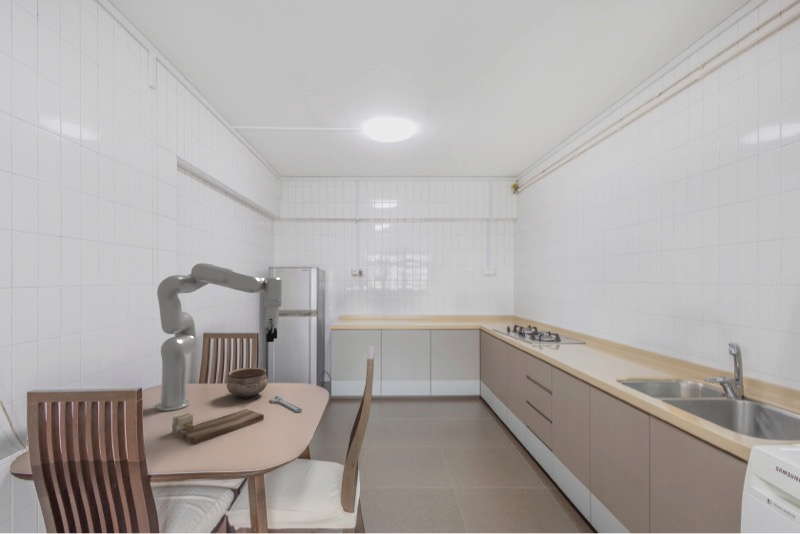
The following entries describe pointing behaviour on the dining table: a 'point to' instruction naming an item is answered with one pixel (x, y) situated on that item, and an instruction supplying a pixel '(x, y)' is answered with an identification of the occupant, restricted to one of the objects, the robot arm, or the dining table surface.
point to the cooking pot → (247, 382)
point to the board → (219, 426)
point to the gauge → (182, 422)
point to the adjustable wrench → (285, 404)
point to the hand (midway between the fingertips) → (271, 340)
